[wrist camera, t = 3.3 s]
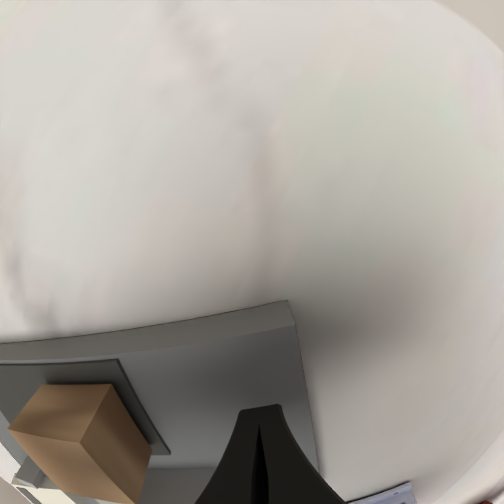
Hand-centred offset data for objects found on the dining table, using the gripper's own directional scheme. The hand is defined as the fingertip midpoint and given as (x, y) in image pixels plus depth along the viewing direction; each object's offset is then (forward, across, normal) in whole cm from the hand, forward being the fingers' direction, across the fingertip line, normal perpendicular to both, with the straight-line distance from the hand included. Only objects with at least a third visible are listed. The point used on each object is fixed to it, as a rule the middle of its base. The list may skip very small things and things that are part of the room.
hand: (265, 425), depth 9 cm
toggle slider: (+1, +7, 0) cm, 7 cm away
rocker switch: (0, +16, +8) cm, 18 cm away
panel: (+3, +9, +4) cm, 11 cm away
